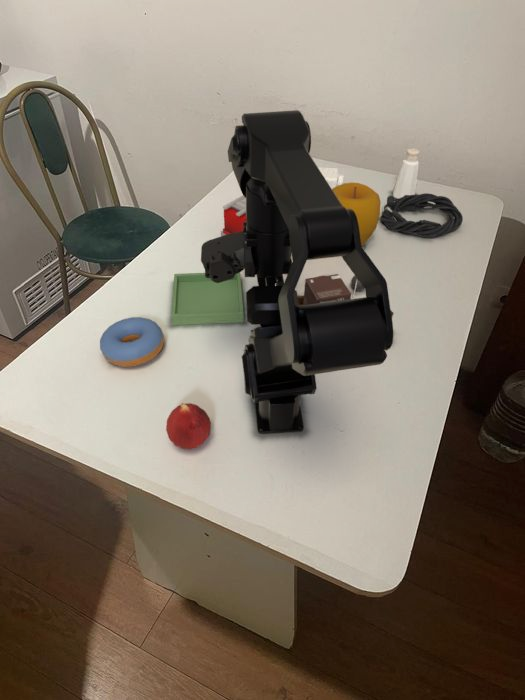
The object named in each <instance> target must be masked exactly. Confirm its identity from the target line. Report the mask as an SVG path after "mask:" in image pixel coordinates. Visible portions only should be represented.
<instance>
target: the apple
mask: <svg viewBox="0 0 525 700" xmlns="http://www.w3.org/2000/svg"><path fill="white" fill-rule="evenodd" d="M332 190H333V192H334V193H335V195H336V196H337V198H338V199H339V201H340V203H341V204H342V206H343V207H345V208H346V209H352V210H353V211H354V212H355V214H356V216H357V220H358V225H359V232H360V239H361V246H362V247H363V246H364V245H365V244H366V242H368V240H369V239H370V238H371V237H372V236H373V234H374V232H375V231H376V228H377V226H378V223H379V221H380V214H381V204H382V203H381V198H380V195H379V194H378V192H376V191H375V190H374V189H373V188H371V187H369V186H368V185H366V184H363V183H360V182H352V181H351V182H345V183H343V184H342V185H339V186H337V187H334V188H333V189H332Z"/></svg>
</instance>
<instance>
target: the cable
mask: <svg viewBox="0 0 525 700" xmlns="http://www.w3.org/2000/svg"><path fill="white" fill-rule="evenodd" d="M421 210H423V211H431V210H432V211H433V210H438V211H440V212H442V213H444V214H445V215H447V216H448V218H449V219H448V220H447V221H446V222H444V223H443V224H441V223H438V222H435V221H431V220H426V219H419V220H417V221H413V220H407V219H406V218H405V217H403V216H402V215H401V214H400V213H398V211H400V212H415V211H421ZM394 219H395V220H394ZM463 219H464V218H463V214H462V212H461V211H460V210H459V209H458V207H457V206H456V205H454V202H453V201H452V199H450V198H449V197H447V196H443V195H436V194H434V193H427V192H425V193H419V194H415V195H404V197H401V198H395V197H393V195H388V196H387V198H386V204H385V205H384V206H383V211H382V212H381V216H379V221H381V222H383V224H384V225H385V226H386V227H387V228H388V230H395V231H398V232H400V233H405V234H406V233H407V234H408V233H410V234H413V235H416V236H419V237H422V238H431V237H436V236H437V237H439V236H442V235H445V234H448V233H450V232H452V231H454V230H457V229H459V228H460V226H461V225H462V224H463V221H464V220H463Z"/></svg>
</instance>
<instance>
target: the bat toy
mask: <svg viewBox="0 0 525 700" xmlns="http://www.w3.org/2000/svg"><path fill="white" fill-rule="evenodd" d="M350 285H351V287H352V289H353V290H354V291H353V294H352V296H353V297H352V299H355V298H354V297H355V293H356V291H358V292H359V291H363V290H365V288H364V287H363V285H362V284H361V283H360V281H359V280H358V279H357V277H356V276H355V275H354V276H352V278H351V280H350Z"/></svg>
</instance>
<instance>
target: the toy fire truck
mask: <svg viewBox="0 0 525 700" xmlns="http://www.w3.org/2000/svg"><path fill="white" fill-rule="evenodd" d="M222 209H223V226H224V227H223V228H222V230H221V231H220V237H221V236H224V235H227V234H230V233H237V232H241V231H243V222H246V198H245V197H244V195H243V194H242V195H241V196H240V197H238V198H236V199H233V200H232V201H230V202H228V203H227V204H225V205H223V206H222Z"/></svg>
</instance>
